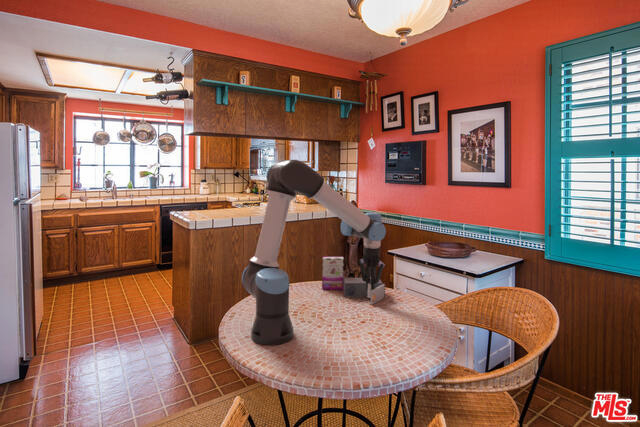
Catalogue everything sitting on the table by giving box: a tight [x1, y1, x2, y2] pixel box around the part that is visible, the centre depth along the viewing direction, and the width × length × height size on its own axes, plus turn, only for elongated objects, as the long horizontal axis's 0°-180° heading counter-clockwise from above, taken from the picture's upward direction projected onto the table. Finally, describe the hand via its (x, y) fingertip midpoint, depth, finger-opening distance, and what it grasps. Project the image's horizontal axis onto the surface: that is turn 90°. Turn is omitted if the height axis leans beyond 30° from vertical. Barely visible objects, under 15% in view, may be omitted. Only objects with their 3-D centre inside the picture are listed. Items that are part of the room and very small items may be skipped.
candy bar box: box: [321, 256, 345, 291], centre depth 184 cm, size 11×5×16 cm, turn 88°
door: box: [370, 283, 386, 305], centre depth 166 cm, size 13×2×7 cm, turn 144°
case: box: [342, 277, 384, 298], centre depth 175 cm, size 18×11×8 cm, turn 91°
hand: (370, 296), depth 165 cm, fingers closed
